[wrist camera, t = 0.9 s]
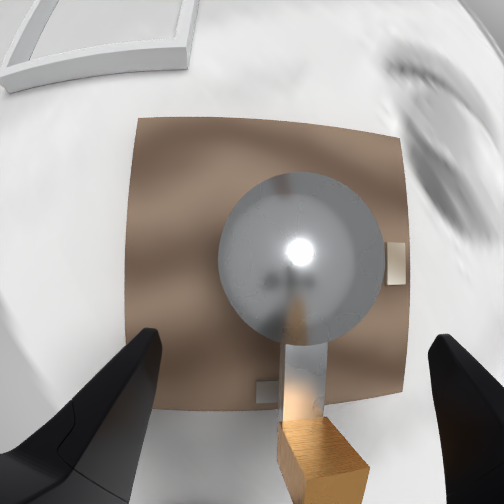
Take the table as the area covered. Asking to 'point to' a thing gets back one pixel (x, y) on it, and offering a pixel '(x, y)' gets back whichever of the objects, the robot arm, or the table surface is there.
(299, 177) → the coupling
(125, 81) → the table surface
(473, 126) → the table surface
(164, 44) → the tray frame
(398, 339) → the base plate
